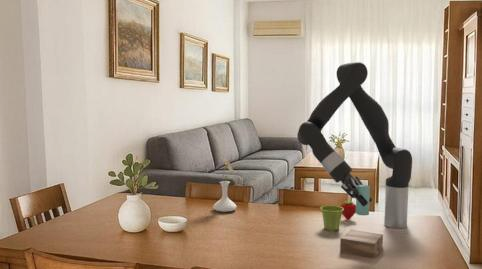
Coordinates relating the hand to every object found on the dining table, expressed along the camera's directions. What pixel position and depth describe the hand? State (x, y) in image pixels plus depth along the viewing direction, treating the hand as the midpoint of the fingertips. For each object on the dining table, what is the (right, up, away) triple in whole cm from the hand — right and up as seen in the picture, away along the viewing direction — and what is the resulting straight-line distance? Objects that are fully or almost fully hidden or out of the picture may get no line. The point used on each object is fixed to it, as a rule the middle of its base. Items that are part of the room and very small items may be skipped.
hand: (367, 203), depth 165 cm
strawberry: (+2, -14, +41) cm, 43 cm away
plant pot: (-8, -15, +28) cm, 33 cm away
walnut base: (-2, -17, +3) cm, 18 cm away
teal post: (-2, -4, +1) cm, 4 cm away
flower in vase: (-53, -12, +57) cm, 79 cm away
